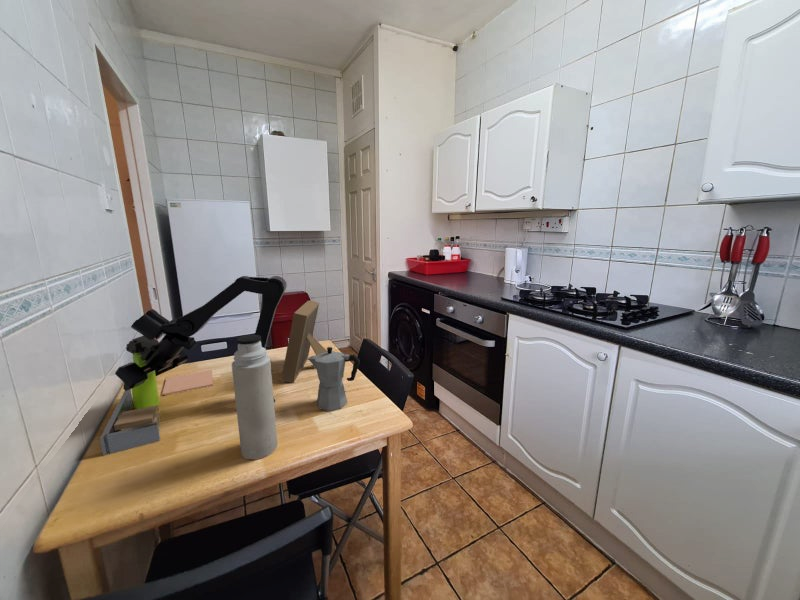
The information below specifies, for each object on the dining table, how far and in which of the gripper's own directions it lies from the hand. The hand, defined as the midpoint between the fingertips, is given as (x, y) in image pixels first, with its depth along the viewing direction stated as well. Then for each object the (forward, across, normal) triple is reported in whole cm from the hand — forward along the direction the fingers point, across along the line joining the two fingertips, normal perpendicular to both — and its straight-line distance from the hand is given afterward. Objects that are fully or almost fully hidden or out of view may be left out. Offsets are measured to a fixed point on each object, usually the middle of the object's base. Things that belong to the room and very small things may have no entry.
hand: (140, 382), depth 94 cm
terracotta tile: (+5, -16, +6) cm, 18 cm away
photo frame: (-22, -32, +33) cm, 51 cm away
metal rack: (+1, +6, +10) cm, 12 cm away
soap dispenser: (+5, 0, +6) cm, 8 cm away
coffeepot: (-34, -9, +46) cm, 58 cm away
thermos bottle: (-26, +14, +38) cm, 48 cm away
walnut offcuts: (-1, +10, +12) cm, 16 cm away
